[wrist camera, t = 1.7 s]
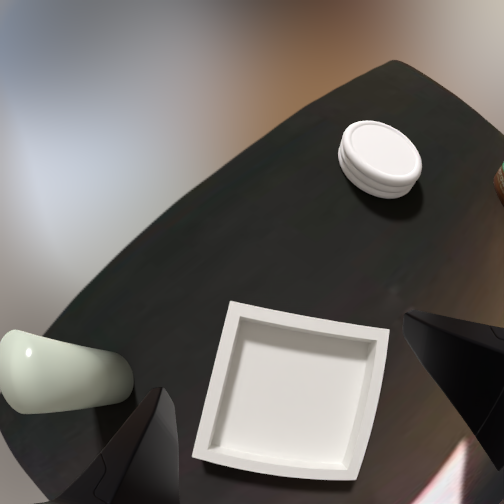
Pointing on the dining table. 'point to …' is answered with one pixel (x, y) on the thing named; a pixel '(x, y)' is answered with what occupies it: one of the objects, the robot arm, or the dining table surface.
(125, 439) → the robot arm
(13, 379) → the pale green rounded post
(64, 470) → the dining table surface
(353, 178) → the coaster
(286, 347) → the tray
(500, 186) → the food container
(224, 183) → the dining table surface
